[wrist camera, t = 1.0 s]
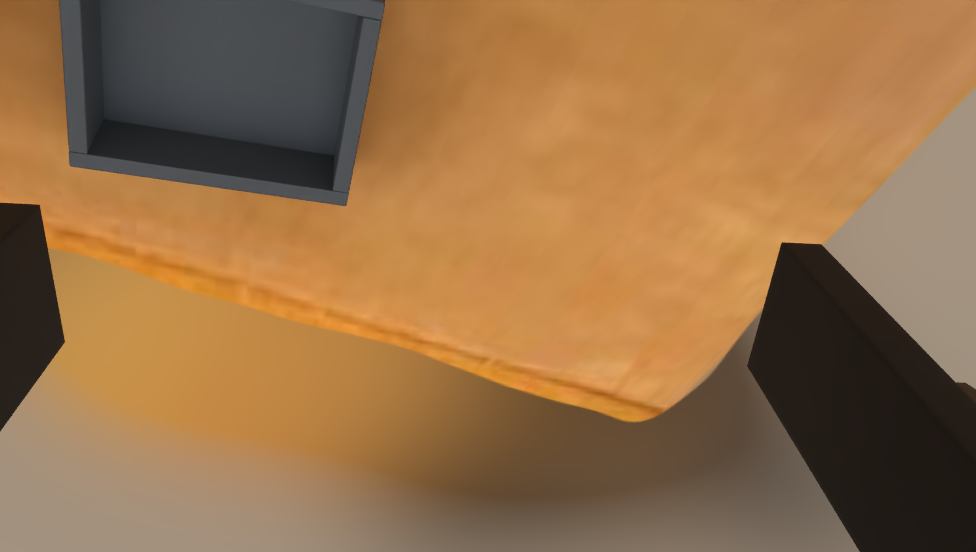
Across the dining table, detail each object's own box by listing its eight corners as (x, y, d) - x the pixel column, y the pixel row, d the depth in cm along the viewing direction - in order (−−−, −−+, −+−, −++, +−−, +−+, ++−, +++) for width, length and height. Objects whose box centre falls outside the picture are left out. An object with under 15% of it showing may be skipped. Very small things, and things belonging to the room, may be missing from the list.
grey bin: (80, -98, 34) (54, -67, 31) (383, -31, 37) (385, 3, 34) (90, 123, 40) (69, 166, 37) (347, 164, 43) (346, 206, 40)
